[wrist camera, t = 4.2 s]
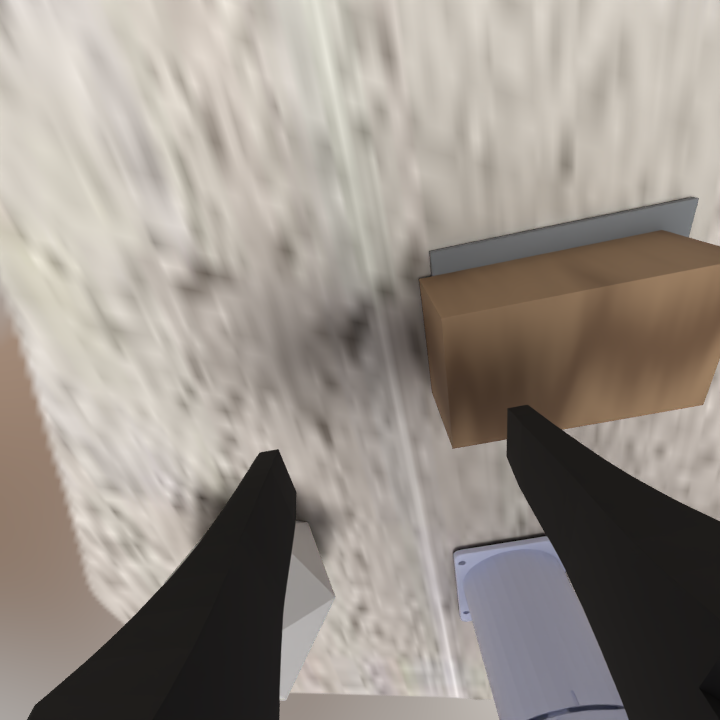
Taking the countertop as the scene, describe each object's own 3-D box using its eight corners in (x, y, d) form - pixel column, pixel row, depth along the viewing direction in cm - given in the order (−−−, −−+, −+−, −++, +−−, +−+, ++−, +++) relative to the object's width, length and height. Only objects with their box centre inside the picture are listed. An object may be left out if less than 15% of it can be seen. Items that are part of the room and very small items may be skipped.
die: (259, 451, 22) (86, 624, 15) (384, 555, 20) (247, 795, 14) (253, 498, 28) (129, 633, 22) (347, 579, 27) (243, 751, 20)
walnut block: (432, 391, 19) (634, 354, 18) (452, 448, 15) (702, 404, 15) (419, 278, 16) (662, 229, 15) (441, 318, 12) (755, 257, 12)
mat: (647, 380, 20) (651, 383, 19) (445, 416, 20) (446, 420, 20) (692, 197, 15) (698, 198, 15) (429, 250, 16) (430, 252, 15)
